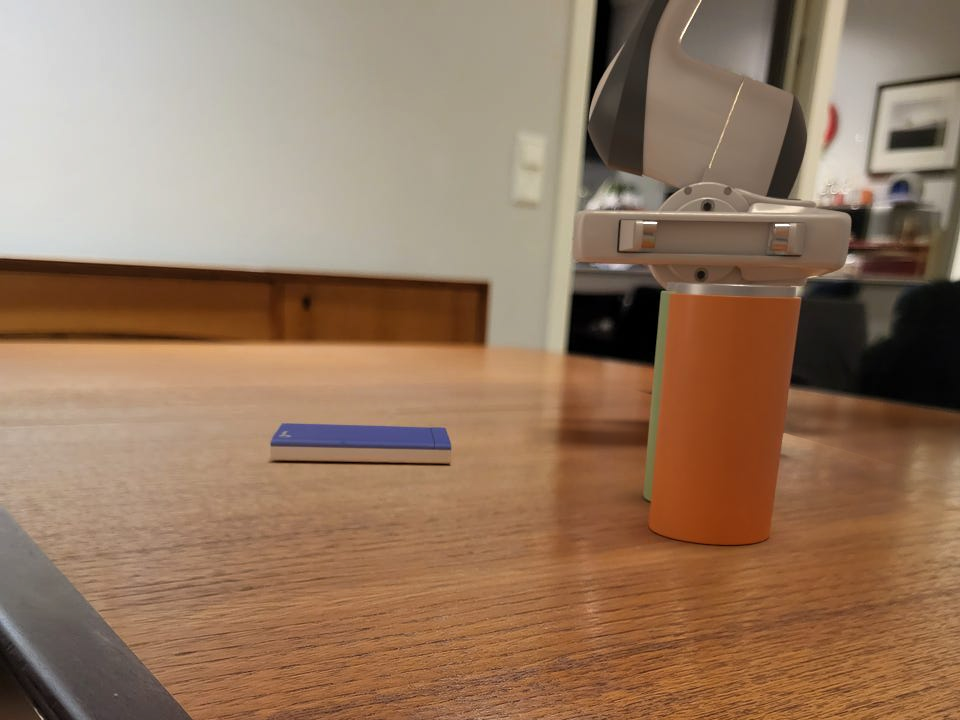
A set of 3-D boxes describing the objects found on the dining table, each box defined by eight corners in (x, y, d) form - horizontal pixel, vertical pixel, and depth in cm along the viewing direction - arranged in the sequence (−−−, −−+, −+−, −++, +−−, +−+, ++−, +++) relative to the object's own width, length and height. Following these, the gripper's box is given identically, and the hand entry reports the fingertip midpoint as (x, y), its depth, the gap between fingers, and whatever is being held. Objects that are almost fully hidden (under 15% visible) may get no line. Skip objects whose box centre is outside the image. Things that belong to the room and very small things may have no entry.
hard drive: (269, 439, 68) (451, 443, 69) (281, 421, 76) (445, 425, 77) (270, 462, 68) (451, 465, 70) (282, 442, 76) (444, 446, 77)
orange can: (732, 514, 58) (760, 285, 53) (792, 542, 52) (829, 287, 48) (630, 517, 56) (650, 281, 52) (679, 547, 50) (707, 283, 46)
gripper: (576, 198, 82) (566, 183, 69) (834, 202, 79) (873, 187, 67) (572, 280, 84) (561, 280, 71) (823, 286, 82) (858, 287, 69)
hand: (714, 235), depth 69 cm, fingers open, 8 cm apart
